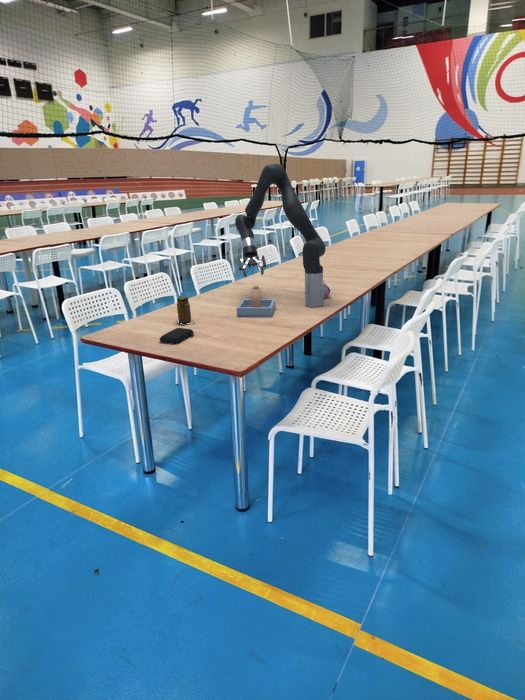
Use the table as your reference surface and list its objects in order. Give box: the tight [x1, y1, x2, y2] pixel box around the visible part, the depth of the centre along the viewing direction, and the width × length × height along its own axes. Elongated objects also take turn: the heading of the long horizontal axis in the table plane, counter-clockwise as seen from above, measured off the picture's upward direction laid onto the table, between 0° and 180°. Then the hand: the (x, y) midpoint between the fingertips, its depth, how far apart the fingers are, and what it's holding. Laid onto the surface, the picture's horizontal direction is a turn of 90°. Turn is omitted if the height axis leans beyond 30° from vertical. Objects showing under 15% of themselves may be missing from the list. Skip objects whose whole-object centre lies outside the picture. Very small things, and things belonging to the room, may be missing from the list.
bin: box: [236, 298, 277, 318], centre depth 239 cm, size 17×16×4 cm
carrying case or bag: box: [159, 327, 195, 345], centre depth 208 cm, size 11×3×15 cm
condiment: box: [175, 296, 196, 326], centre depth 227 cm, size 7×8×12 cm
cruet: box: [250, 284, 262, 307], centre depth 237 cm, size 5×5×12 cm
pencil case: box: [323, 280, 331, 300], centre depth 265 cm, size 21×9×9 cm, turn 3°
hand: (253, 275), depth 245 cm, fingers open, 8 cm apart
